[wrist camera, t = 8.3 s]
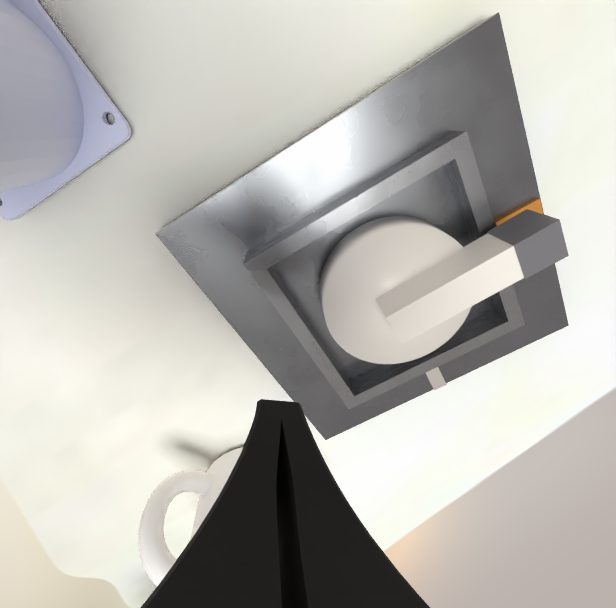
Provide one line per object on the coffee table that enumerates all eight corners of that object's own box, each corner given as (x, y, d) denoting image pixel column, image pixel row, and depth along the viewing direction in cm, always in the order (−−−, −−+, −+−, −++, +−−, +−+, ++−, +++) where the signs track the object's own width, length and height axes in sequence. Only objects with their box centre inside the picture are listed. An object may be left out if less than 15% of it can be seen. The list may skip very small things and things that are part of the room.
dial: (360, 364, 22) (376, 409, 18) (291, 268, 18) (295, 301, 15) (527, 274, 20) (581, 305, 16) (485, 147, 16) (542, 152, 13)
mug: (141, 469, 27) (71, 648, 17) (199, 403, 24) (153, 573, 15) (265, 518, 31) (261, 683, 22) (326, 467, 28) (350, 629, 19)
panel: (162, 227, 18) (145, 242, 16) (483, 20, 15) (521, 0, 13) (323, 427, 26) (328, 457, 24) (555, 316, 23) (587, 338, 21)
